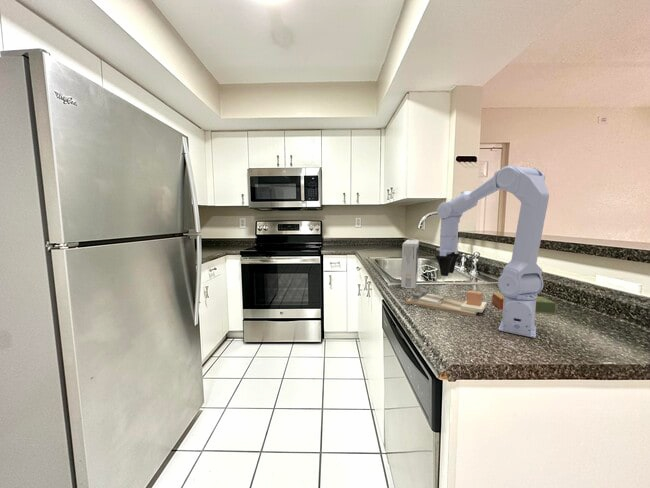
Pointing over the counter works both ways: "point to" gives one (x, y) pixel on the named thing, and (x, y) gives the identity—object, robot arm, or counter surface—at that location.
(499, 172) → the robot arm
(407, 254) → the packaging
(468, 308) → the tan block on base
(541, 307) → the carton
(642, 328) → the counter surface
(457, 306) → the board
